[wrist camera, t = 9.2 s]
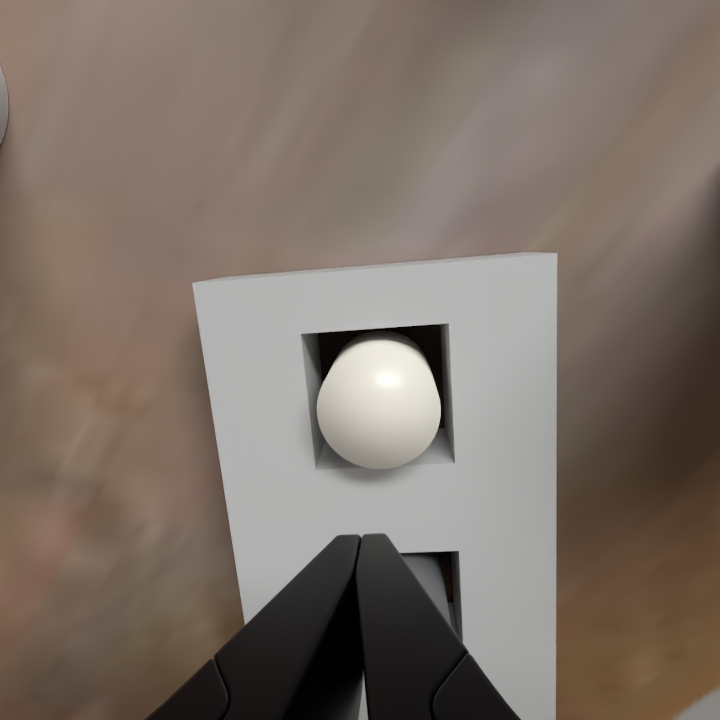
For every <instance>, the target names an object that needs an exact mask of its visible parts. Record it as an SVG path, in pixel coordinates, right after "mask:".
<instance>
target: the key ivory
mask: <svg viewBox="0 0 720 720" xmlns="http://www.w3.org/2000/svg"><path fill="white" fill-rule="evenodd" d="M440 417H441V405H440V399H439V395H438V391H437V388H436V385H435V381H434V378H433V375H432V372H431V368H430V365H429V362H428V360H427V358H426V356H425V354H424V353H423V351H422V350H421V349H420V347H419V346H418V345H417V344H416V343H415V342H413V341H412V340H411V339H409V338H408V337H406V336H404V335H402V334H399V333H396V332H393V331H386V330H376V331H370V332H366V333H363V334H361V335H358V336H357V337H355V338H353V339H352V340H350V341H349V342H348V343H347V344H346V345H345V346H344V347H343V348H342V349H341V351H340V352H339V354H338V356H337V357H336V359H335V361H334V363H333V365H332V367H331V369H330V371H329V373H328V375H327V377H326V379H325V381H324V382H323V384H322V387H321V389H320V392H319V396H318V400H317V418H318V423H319V426H320V429H321V432H322V434H323V436H324V438H325V439H326V441H327V443H328V444H329V445H330V446H331V448H332V449H333V450H334V451H335V452H336V453H337V454H339V455H340V456H341V457H343V458H344V459H346V460H347V461H349V462H351V463H353V464H356V465H358V466H362V467H365V468H371V469H388V468H394V467H398V466H401V465H404V464H406V463H408V462H410V461H412V460H413V459H415V458H416V457H418V456H419V455H420V454H421V453H422V452H424V451H425V450H426V448H427V447H428V446H429V445H430V443H431V442H432V440H433V439H434V437H435V435H436V433H437V430H438V427H439V423H440Z"/></svg>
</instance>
